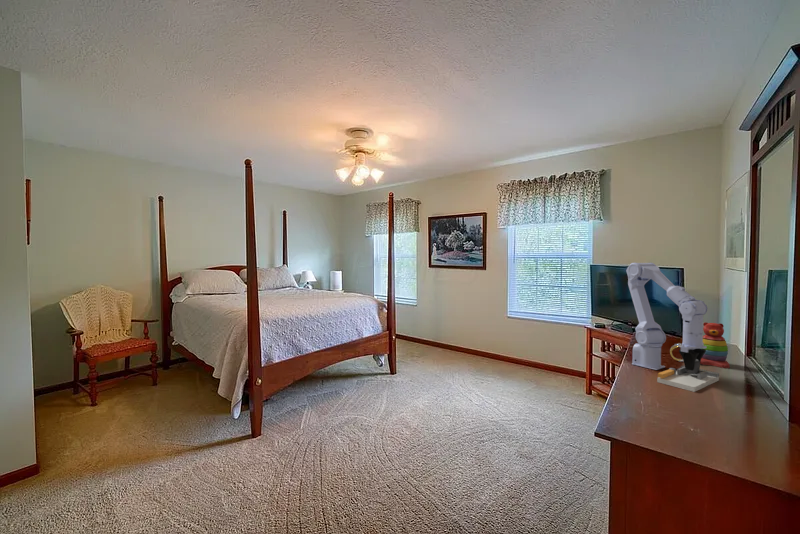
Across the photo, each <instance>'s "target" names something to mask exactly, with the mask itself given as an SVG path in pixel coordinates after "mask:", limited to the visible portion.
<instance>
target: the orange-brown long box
mask: <svg viewBox="0 0 800 534" xmlns="http://www.w3.org/2000/svg"><path fill="white" fill-rule="evenodd" d="M676 371H677V368H674V367H669V368H668V369H666V370H663V371H660V372H658V373H657V378H658V377H660V378H665V377H668V376H670V375H673V374H676Z"/></svg>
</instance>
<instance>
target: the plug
mask: <svg viewBox="0 0 800 534" xmlns="http://www.w3.org/2000/svg"><path fill="white" fill-rule="evenodd" d="M700 367H701V364H700V361H699V360H698V359H696V361H695V366H694V369H693V370H688V369H686V372H689V373H693V374H698V373H700V369H701V368H700Z"/></svg>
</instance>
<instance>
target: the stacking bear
mask: <svg viewBox="0 0 800 534" xmlns="http://www.w3.org/2000/svg"><path fill="white" fill-rule="evenodd" d="M703 333H704V334H703V343H704V346H707V348H705V349H704V350H706V352H705V353H704V355H703V357H702V359H701V361H700V365H702V366H703V365H704V366H712V367H717V368H721V369H730V368H731V366H730V363H729V362H728V361H727V357H728V354H729V353H728V352H729V347H728V344H727V340H726V338H724V337H723V335H724V333H725V329H724V324H723V323H716V322H707V321H706V322H703ZM700 349H703V348H700Z"/></svg>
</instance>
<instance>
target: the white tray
mask: <svg viewBox="0 0 800 534" xmlns="http://www.w3.org/2000/svg"><path fill="white" fill-rule="evenodd" d="M656 380H657V381H656V383H658V384H659V383H660V384H663V385H665V386H666V385H667V386H671V387H674V388H676V389H677V388H679V389H683V390H685V391H689V392H693V393H695V392H697V391H699V390H702V389H704V388H706V387H709V386H710V385H712V384H714V383H716V382H719V381H720V372H716V371H711V370H707V369H703V368H700V373H698V374H693V373H689V372H686V368H685V365H684V364H683V365H680V367H679V368H676V374H673V375H670V376H668V377H665V378H660V377H658V376H657V378H656Z"/></svg>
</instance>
